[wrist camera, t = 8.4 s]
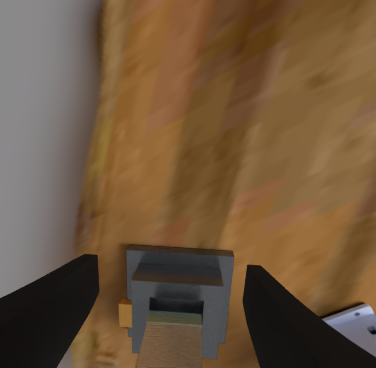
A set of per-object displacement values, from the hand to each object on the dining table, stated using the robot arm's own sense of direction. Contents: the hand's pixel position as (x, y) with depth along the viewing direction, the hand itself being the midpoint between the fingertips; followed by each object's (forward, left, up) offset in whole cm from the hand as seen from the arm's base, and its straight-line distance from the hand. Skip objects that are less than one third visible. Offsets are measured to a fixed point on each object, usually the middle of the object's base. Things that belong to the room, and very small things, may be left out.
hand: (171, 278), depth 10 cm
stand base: (+5, +8, -10) cm, 13 cm away
